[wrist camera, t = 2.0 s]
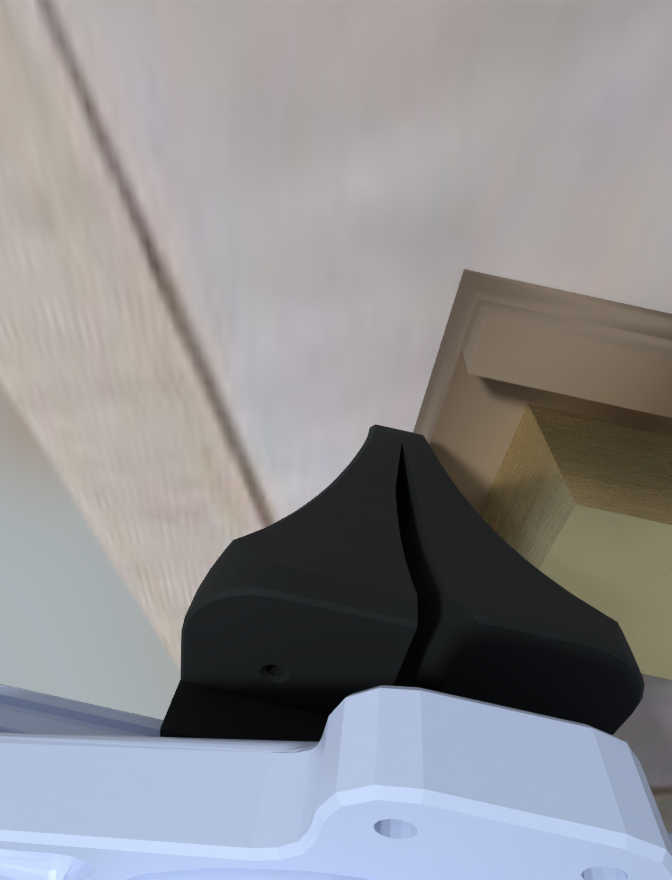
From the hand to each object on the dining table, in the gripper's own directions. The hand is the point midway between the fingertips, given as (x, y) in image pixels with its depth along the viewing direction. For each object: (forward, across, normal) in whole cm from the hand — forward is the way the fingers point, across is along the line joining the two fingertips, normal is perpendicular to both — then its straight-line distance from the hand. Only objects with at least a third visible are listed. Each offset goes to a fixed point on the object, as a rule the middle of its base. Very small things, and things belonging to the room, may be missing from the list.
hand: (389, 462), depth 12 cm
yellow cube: (+1, -5, 0) cm, 5 cm away
